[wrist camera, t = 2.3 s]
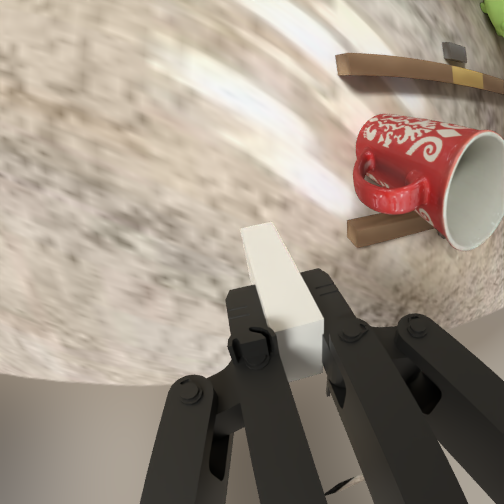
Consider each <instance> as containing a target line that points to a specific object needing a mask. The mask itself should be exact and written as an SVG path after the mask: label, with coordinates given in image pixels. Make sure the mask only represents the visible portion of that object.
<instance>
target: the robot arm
mask: <svg viewBox="0 0 504 504" xmlns="http://www.w3.org/2000/svg"><path fill="white" fill-rule="evenodd" d="M240 231H241V236H242V241H243V246H244V251H245V256H246V261H247V266H248V271H249V276H250V280H251V283H252V285H250V286H246V287H242V288H237V289H233V290H229V293H228V295H227V298H226V307H227V313H228V319H229V326H230V332H231V336H230V338H229V339H228V346H227V347H228V350H229V353H230V356H231V359H232V360H231V361H230V363H229V365H228V366H227V367H226V368H225V369H223V370H222V371H220V372H219V373H217V374H215V375H213V376H211V377H209V378H207V379H206V378H205V377H203V376H199V375H188V376H185V377H182V378H180V379H178V380H177V381H176V382H175V383H174V384H173V385H172V386H171V388H170V390H169V392H168V396H167V399H166V403H165V406H164V410H163V414H162V417H161V421H160V425H159V428H158V432H157V436H156V440H155V444H154V447H153V451H152V455H151V459H150V463H149V467H148V471H147V475H146V479H145V484H144V488H143V492H142V497H141V501H140V504H225V503H226V494H227V485H228V478H229V469H230V461H231V452H232V444H233V436H234V432H235V431H237V430H239V429H241V428H243V427H245V430H246V436H247V441H248V446H249V451H250V456H251V461H252V466H253V471H254V475H255V480H256V485H257V489H258V494H259V499H260V503H261V504H327V501H326V498H325V495H324V492H323V489H322V486H321V482H320V480H319V476H318V473H317V470H316V467H315V464H314V461H313V458H312V454H311V451H310V448H309V445H308V442H307V439H306V436H305V433H304V430H303V426H302V424H301V420H300V417H299V414H298V411H297V408H296V405H295V402H294V398H293V395H292V392H291V389H290V386H289V382H292V381H296V380H300V379H303V378H307V377H310V376H313V375H317V374H321V373H323V366H324V368H325V371H326V373H327V388H326V394H327V396H330V393H331V395H332V397H333V400H334V402H335V405H336V407H337V410H338V412H339V415H340V417H341V420H342V422H343V425H344V427H345V430H346V432H347V435H348V437H349V440H350V442H351V445H352V447H353V450H354V452H355V455H356V457H357V460H358V463H359V465H360V468H361V470H362V473H363V476H364V478H365V481H366V483H367V486H368V489H369V491H370V494H371V496H372V499H373V502H374V504H468V502H467V500H466V498H465V496H464V493H463V491H462V489H461V487H460V485H459V483H458V480H457V478H456V476H455V474H454V472H453V470H452V468H451V466H450V464H449V462H448V460H447V458H446V456H445V454H444V452H443V450H442V448H441V446H440V444H439V442H440V443H441V444H442V446H443V447H444V448H445V449H446V450H447V451H448V452H449V453H450V454H451V455H452V456H453V457H454V459H455V460H456V461H457V462H458V463H459V464H460V465H461V466H462V467H463V468H464V469H465V470H466V472H467V473H468V474H469V475H470V476H471V477H472V478H473V479H474V480H475V481H476V482H477V484H478V485H479V486H480V487H481V488H482V489H483V490H484V491H485V492H486V493H487V494H488V496H490V498H491V499H492V500H493V501H494V502H495V503H496V504H504V381H503V380H502V379H501V378H500V377H498V375H496V374H495V373H494V372H493V371H492V370H491V369H490V368H489V367H487V366H486V365H485V364H484V363H483V362H482V361H480V360H479V359H478V358H477V357H476V356H475V355H474V354H472V353H471V352H470V351H469V350H468V349H467V348H465V347H464V346H463V345H462V344H460V343H459V342H458V341H457V340H456V339H455V338H453V337H452V336H451V335H450V334H449V333H447V332H446V331H445V330H444V329H442V328H441V327H440V326H439V325H438V324H436V323H435V322H434V321H433V320H431V319H430V318H428V317H426V316H425V315H421V314H417V313H416V314H408V315H406V316H404V317H402V318H401V320H400V321H399V322H398V326H395V327H371V326H370V325H369V324H368V323H367V322H365V321H363V320H361V319H358V318H356V317H355V315H354V313H353V312H352V310H351V309H350V307H349V306H348V304H347V302H346V301H345V299H344V298H343V296H342V295H341V293H340V292H339V291H338V288H337V287H336V285H334V282H333V281H332V279H331V278H330V276H329V275H328V274H327V273H325V272H324V271H322V270H321V269H319V268H318V269H314V270H309V271H305V272H301V273H300V272H299V271H298V269H297V267H296V265H295V263H294V261H293V259H292V257H291V256H290V254H289V252H288V250H287V248H286V246H285V245H284V243H283V241H282V239H281V237H280V235H279V234H278V232H277V230H276V228H275V226H274V225H273V223H272V222H268V223H263V224H258V225H254V226H249V227H245V228H240ZM437 440H438V441H439V442H438V441H437Z"/></svg>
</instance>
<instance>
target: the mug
mask: <svg viewBox="0 0 504 504" xmlns="http://www.w3.org/2000/svg"><path fill="white" fill-rule="evenodd" d="M356 156H357V161H356V162H355V166H354V170H353V180H354V187H355V191H356V194H357V196H358V198H359V199H360V200H361V202H362V203H364V204H365V205H366V206H368V207H369V208H371V209H373V210H375V211H377V212H380V213H384V214H392V215H398V214H405V213H409V212H411V211H413V210H414V211H415V212H416V213H418V214H419V215H420V216H421V217H422V218H424V219H425V220H426V221H427V222H428V223H430V224H431V225H432V226H433V227H434V228H436V229H437V230H438V231H439V232H440V233H441V234H443V235H444V236H445V237H446V239H447V241H448V242H449V243H450V245H451V246H452V247H454V248H455V249H457V250H460V251H469V250H472V249H475V248H477V247H478V246H480V245H481V244H482V243H484V242H485V241H486V240H487V239H488V238H489V237H490V236H491V235H492V233H493V232H494V231H495V229H496V228H497V226H498V225H499V223H500V221H501V219H502V217H503V215H504V139H503V138H502V137H501V136H500V135H499V134H498V133H496V132H494V131H491V130H476V129H472V128H467V127H463V126H459V125H455V124H449V123H443V122H438V121H432V120H428V119H420V118H414V117H407V116H400V115H394V114H380V115H377V116H374V117H373V118H371V119H370V120H368V121H367V122H366V123H365V124H364V125H363V127H362V128H361V130H360V132H359V135H358V137H357V142H356ZM365 175H367V176H368V177H369V178H371V179H372V180H374V181H375V182H376V183H378V184H379V185H381V186H382V187H380V186H376V185H373V184H371V183H369V182H367V181H366V180H364V178H365Z"/></svg>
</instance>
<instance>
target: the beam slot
mask: <svg viewBox="0 0 504 504" xmlns="http://www.w3.org/2000/svg"><path fill="white" fill-rule="evenodd" d="M442 44H443V51H444V58H445V59H449V60H454V61H458V62H465V63H467V58H466V50H465V47H463V46H460V45H456V44H453V43H450V42H445V43H442ZM335 57H336V64H337V71H338V75H365V76H390V77H404V78H415V79H424V80H432V81H439V82H446V83H452V84H458V85H464V86H469V87H474V88H479V89H483V90H487V91H492V92H496V93H500V94H503V95H504V80H502V79H499V78H496V77H493V76H490V75H486V74H483V73H479V72H476V71H472V70H468V69H464V68H460V67H456V66H451V65H447V64H442V63H437V62H431V61H425V60H419V59H413V58H405V57H397V56H388V55H377V54H362V53H345V54H339V55H335ZM433 228H434V227H433V226H432V225H431V224H430V223H428V222H427V221H426V220H425V219H424V218H422V217H421V216H420V215H419V214H418V213H416V212H415V211H414V210H413V211H411V212H409V213H405V214H398V215H392V214H384V213H380V214H375V215H370V216H366V217H361V218H356V219H351V220H347V237H348V238H349V239H350V240H351V241H352V243H353V244H354V245H355V246H356V247H357V248H359V247H363V246H367V245H371V244H375V243H379V242H383V241H387V240H391V239H395V238H399V237H403V236H407V235H410V234H414V233H418V232H422V231H426V230H429V229H433ZM438 235H439V236H441V237H442V238H443V239H445V238H446V237H445V236H444V235H443V234H441V233H440V232H439V233H438Z"/></svg>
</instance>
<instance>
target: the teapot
mask: <svg viewBox="0 0 504 504" xmlns="http://www.w3.org/2000/svg"><path fill="white" fill-rule="evenodd" d="M480 7H481V9H482V11H483V12H484V13H488V16H489V18H490V20H491V22H492V24H493V25H494V27H495V31H496V33H497V35H498V36H501V35H502V36H503V37H504V0H484V3H480Z"/></svg>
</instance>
